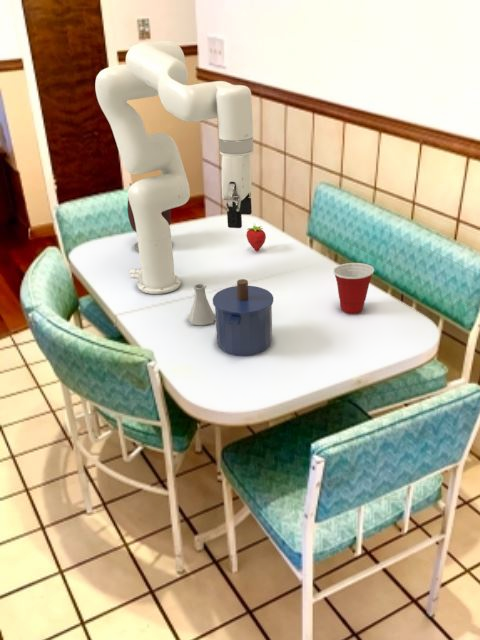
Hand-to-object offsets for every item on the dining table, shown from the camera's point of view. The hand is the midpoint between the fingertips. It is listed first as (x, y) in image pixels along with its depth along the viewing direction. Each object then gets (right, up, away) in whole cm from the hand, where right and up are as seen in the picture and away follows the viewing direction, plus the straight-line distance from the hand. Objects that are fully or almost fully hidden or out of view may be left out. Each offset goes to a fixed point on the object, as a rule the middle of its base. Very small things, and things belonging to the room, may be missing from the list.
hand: (240, 220), depth 150 cm
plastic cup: (+29, -19, +24) cm, 43 cm away
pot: (+1, -28, +10) cm, 30 cm away
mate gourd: (-32, +5, +66) cm, 73 cm away
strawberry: (+3, +2, +60) cm, 60 cm away
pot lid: (+1, -19, +4) cm, 19 cm away
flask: (-11, -23, +20) cm, 32 cm away
